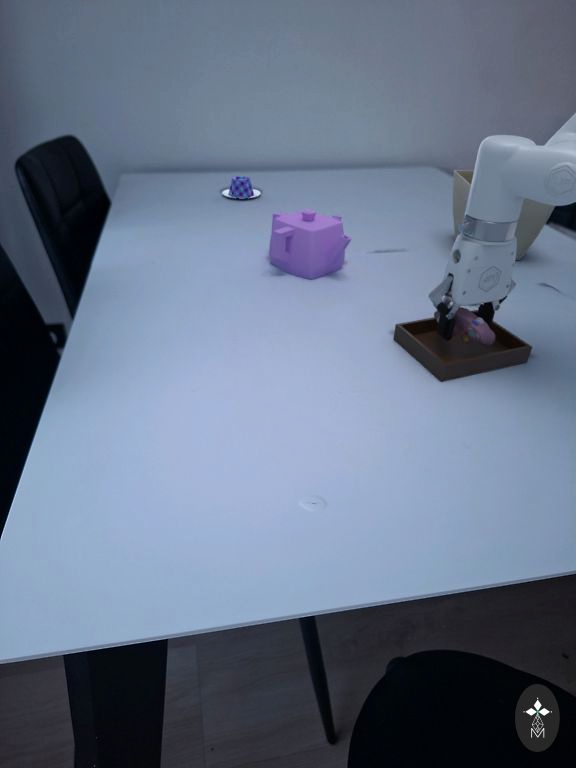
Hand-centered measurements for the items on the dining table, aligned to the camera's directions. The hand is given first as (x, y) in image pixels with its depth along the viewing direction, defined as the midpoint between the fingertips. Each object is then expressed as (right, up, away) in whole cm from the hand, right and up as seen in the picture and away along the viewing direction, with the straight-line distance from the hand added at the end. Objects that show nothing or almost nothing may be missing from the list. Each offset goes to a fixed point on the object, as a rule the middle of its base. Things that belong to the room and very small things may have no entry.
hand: (462, 332), depth 89 cm
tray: (0, -3, +2) cm, 4 cm away
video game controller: (0, -1, +1) cm, 1 cm away
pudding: (-44, +51, +79) cm, 103 cm away
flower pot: (+20, +24, +43) cm, 53 cm away
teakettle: (-24, +18, +32) cm, 44 cm away
